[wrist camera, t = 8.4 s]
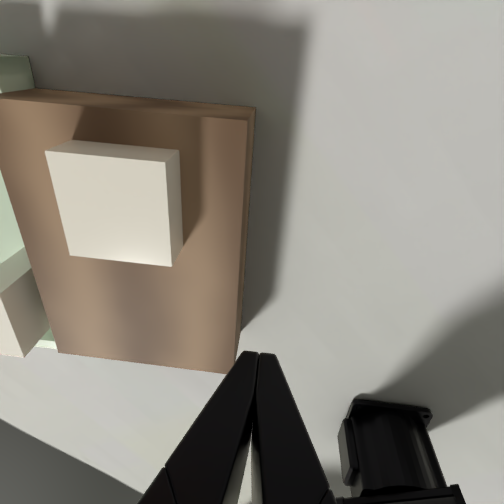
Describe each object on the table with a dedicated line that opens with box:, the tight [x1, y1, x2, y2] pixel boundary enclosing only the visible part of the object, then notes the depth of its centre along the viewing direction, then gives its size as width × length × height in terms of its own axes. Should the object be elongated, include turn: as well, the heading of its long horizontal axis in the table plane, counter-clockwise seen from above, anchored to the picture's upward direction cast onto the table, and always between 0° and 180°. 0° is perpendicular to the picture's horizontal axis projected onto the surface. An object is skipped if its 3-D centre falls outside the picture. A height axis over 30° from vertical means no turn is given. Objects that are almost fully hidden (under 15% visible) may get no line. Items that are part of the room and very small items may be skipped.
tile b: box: [45, 140, 183, 267], centre depth 16 cm, size 5×5×2 cm
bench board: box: [0, 88, 256, 374], centre depth 20 cm, size 12×16×4 cm
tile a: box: [0, 247, 51, 358], centre depth 22 cm, size 5×5×2 cm
